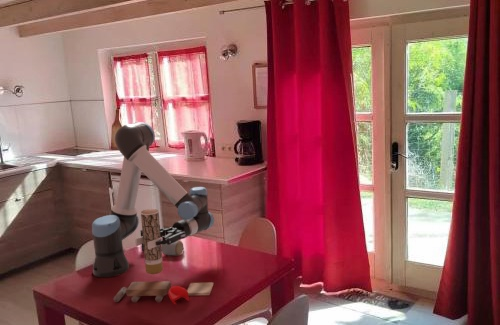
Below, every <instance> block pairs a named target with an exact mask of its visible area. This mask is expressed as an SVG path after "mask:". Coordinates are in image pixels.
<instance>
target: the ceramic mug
mask: <svg viewBox="0 0 500 325" xmlns="http://www.w3.org/2000/svg"><path fill="white" fill-rule="evenodd" d="M184 249H185V248H184V243H183V242H182V241H181V240H178V241H176V242H174V243H172V244H170V245H167V243H166V244H162V245H161V250H162V255H164V256H172V257H173V256H174V257H178V256H181V255H182V254H183V251H185V250H184Z"/></svg>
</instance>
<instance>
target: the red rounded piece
mask: <svg viewBox="0 0 500 325" xmlns="http://www.w3.org/2000/svg"><path fill="white" fill-rule="evenodd" d="M167 295H168V297H169V299H170V301H171V302H172V303H173V305H174V306H177V300H179V299H180V298H184V299H185V300H187V302H190V297H189V296H188V291H187V289H186V288H185V287H183V286H178V285H174V286H171V288H170V290H169V292H168V294H167Z"/></svg>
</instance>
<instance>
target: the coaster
mask: <svg viewBox="0 0 500 325" xmlns="http://www.w3.org/2000/svg"><path fill="white" fill-rule="evenodd" d="M213 286H214V282H212V281H211V282H190V284H189V285H188V288H187V289H186V290H187V291H188V297H189V296H210V294H211V292H212V289H213Z"/></svg>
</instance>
